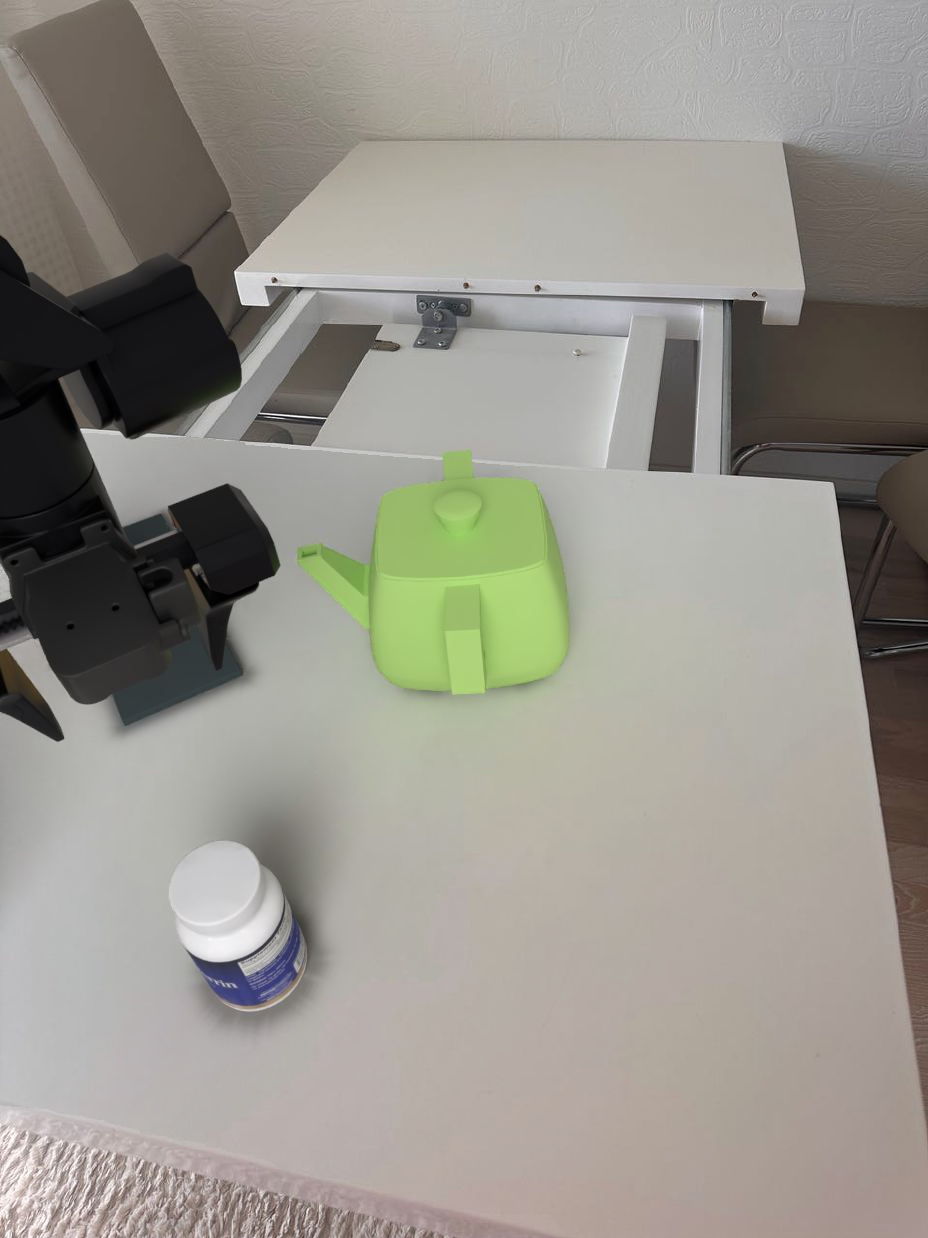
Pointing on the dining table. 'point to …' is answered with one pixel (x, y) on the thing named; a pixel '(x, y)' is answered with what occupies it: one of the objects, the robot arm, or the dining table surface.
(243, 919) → the pill bottle
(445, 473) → the teapot
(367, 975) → the dining table surface
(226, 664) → the mat
